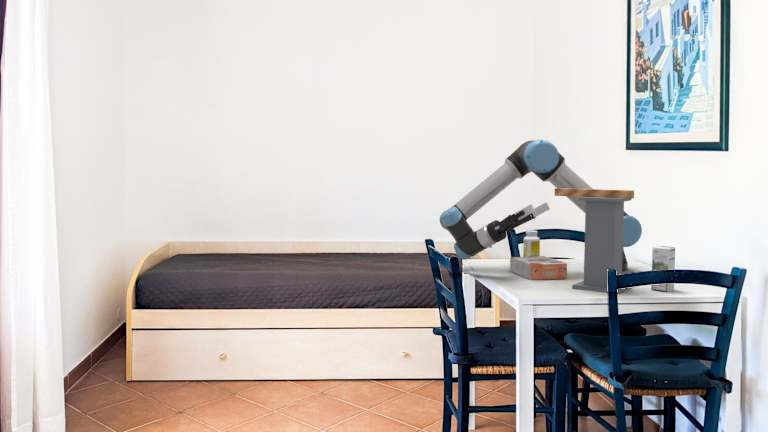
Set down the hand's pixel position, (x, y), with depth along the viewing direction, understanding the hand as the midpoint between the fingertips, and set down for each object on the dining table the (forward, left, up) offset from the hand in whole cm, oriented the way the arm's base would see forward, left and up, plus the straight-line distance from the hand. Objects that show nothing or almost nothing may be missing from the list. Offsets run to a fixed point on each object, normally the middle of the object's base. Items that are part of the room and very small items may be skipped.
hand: (540, 206), depth 275 cm
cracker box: (-5, -24, -23) cm, 34 cm away
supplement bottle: (-17, -49, -27) cm, 58 cm away
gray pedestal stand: (-16, +16, -26) cm, 35 cm away
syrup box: (-34, +23, -27) cm, 49 cm away
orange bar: (-13, +13, +4) cm, 19 cm away
